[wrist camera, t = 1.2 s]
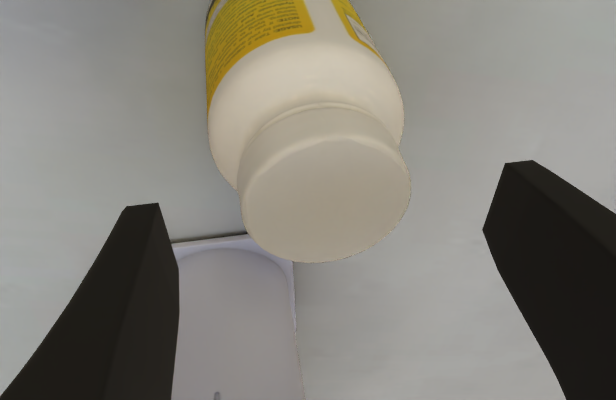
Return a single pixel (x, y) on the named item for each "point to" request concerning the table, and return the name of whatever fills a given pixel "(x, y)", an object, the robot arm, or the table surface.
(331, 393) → the table surface
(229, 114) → the supplement bottle
